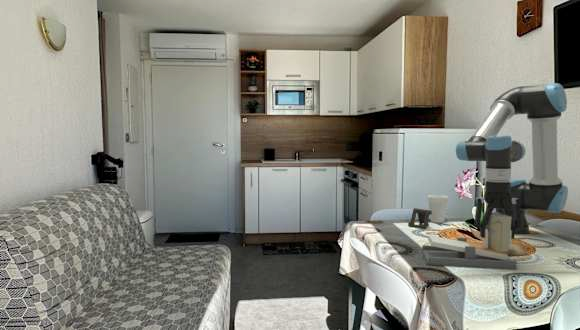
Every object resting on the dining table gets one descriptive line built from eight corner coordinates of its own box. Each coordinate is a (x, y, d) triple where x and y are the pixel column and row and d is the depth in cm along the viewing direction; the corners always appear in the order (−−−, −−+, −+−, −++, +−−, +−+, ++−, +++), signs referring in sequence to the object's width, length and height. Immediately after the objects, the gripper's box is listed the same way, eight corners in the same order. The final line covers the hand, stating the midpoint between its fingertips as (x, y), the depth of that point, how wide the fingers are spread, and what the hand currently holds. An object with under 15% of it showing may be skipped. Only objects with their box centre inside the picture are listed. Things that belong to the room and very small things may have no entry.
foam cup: (448, 220, 191) (449, 195, 190) (445, 224, 184) (446, 198, 183) (429, 218, 196) (429, 194, 196) (425, 222, 189) (426, 196, 188)
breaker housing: (500, 255, 134) (500, 238, 134) (516, 269, 120) (516, 250, 119) (422, 251, 140) (422, 235, 139) (428, 264, 125) (428, 246, 125)
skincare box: (484, 246, 130) (486, 212, 128) (494, 244, 131) (496, 211, 129) (499, 252, 124) (502, 217, 122) (509, 251, 125) (512, 216, 123)
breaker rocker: (498, 252, 132) (499, 247, 131) (507, 260, 123) (508, 255, 123) (427, 239, 136) (428, 234, 136) (431, 246, 127) (432, 240, 127)
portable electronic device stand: (407, 226, 180) (407, 209, 179) (416, 224, 185) (416, 207, 185) (424, 229, 174) (425, 212, 173) (432, 226, 179) (433, 209, 178)
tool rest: (519, 246, 144) (519, 242, 144) (532, 256, 132) (532, 252, 132) (485, 245, 147) (485, 241, 147) (495, 254, 135) (495, 250, 135)
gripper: (469, 181, 124) (469, 249, 125) (534, 182, 120) (533, 251, 121) (464, 179, 131) (463, 243, 133) (525, 179, 127) (523, 245, 129)
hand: (496, 247), depth 127 cm, fingers closed on skincare box, 7 cm apart
